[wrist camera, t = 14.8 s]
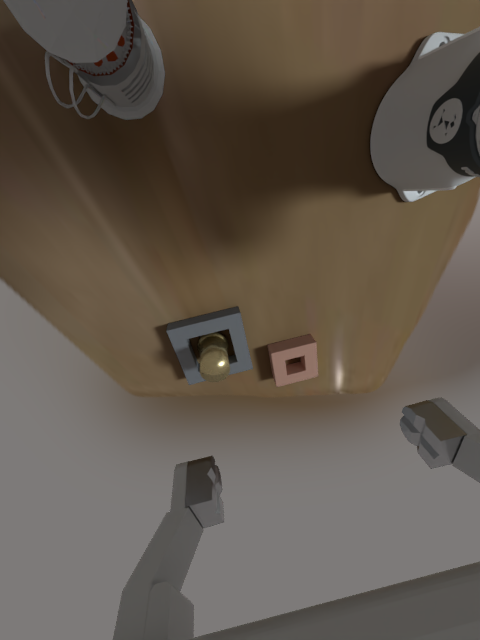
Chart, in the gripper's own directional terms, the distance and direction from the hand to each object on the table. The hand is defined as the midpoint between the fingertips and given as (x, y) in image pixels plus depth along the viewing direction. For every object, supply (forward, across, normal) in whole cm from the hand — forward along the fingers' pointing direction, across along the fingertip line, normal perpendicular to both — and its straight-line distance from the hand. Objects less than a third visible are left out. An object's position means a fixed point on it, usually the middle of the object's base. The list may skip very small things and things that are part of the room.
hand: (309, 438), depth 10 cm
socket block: (+34, +7, +17) cm, 38 cm away
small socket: (+34, -8, +25) cm, 43 cm away
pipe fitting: (+34, +7, +17) cm, 38 cm away
